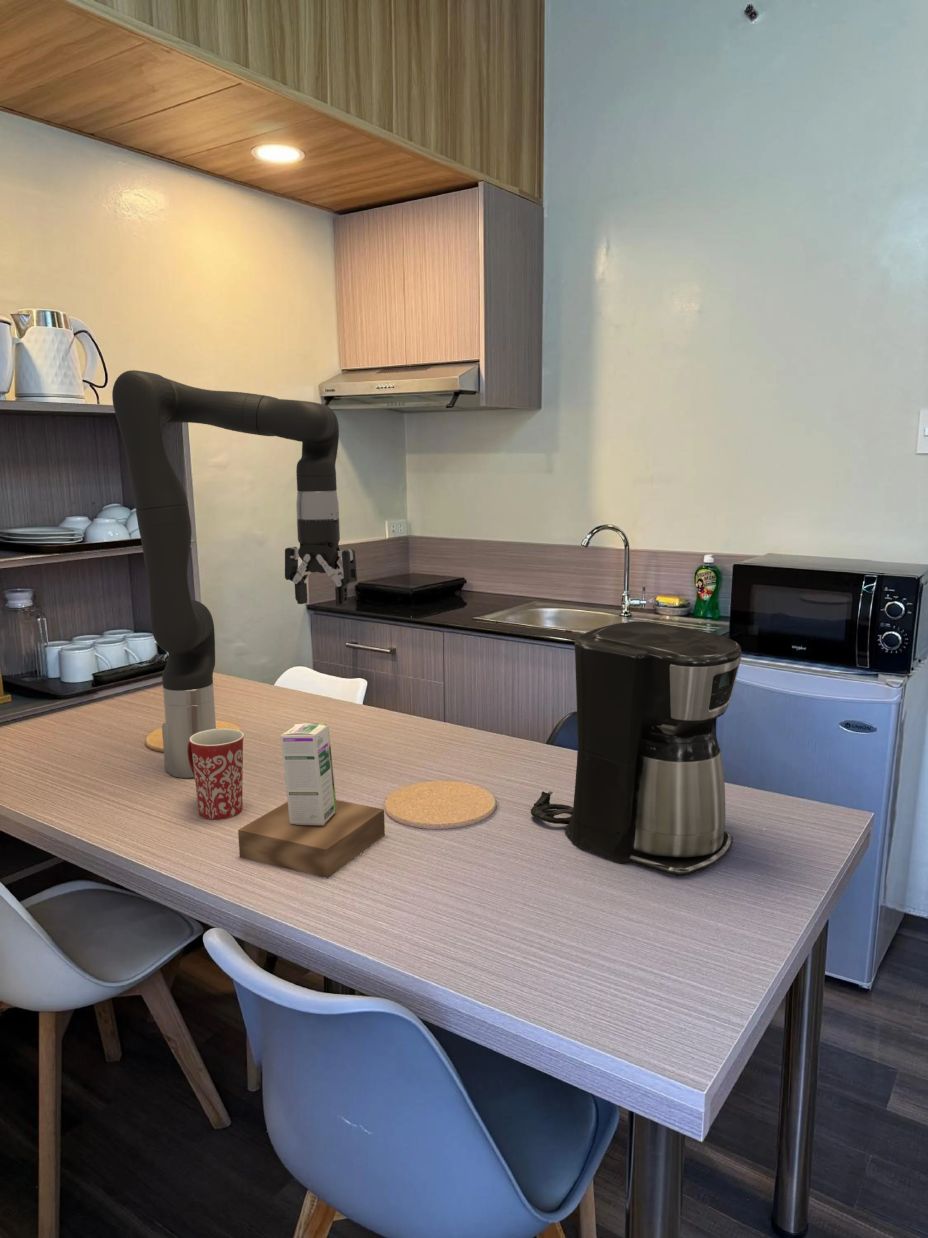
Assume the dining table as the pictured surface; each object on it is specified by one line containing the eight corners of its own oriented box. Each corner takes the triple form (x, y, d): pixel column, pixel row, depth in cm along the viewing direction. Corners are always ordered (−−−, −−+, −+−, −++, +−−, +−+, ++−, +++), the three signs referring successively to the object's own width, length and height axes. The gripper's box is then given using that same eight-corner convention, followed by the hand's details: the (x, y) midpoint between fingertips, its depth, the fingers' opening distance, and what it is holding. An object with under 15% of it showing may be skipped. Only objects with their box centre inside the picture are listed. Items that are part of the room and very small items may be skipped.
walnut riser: (239, 860, 131) (238, 829, 131) (303, 821, 146) (301, 793, 145) (327, 882, 125) (326, 849, 124) (384, 838, 139) (384, 809, 138)
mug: (259, 810, 149) (254, 735, 147) (212, 826, 143) (207, 748, 140) (218, 792, 157) (214, 720, 155) (173, 807, 151) (167, 732, 148)
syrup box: (324, 826, 131) (317, 733, 128) (287, 825, 132) (279, 733, 130) (337, 811, 136) (330, 722, 134) (302, 810, 138) (294, 722, 135)
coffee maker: (731, 887, 121) (743, 651, 115) (507, 858, 130) (506, 638, 124) (733, 823, 142) (742, 621, 136) (540, 802, 152) (541, 612, 146)
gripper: (273, 516, 156) (277, 605, 159) (339, 518, 150) (342, 610, 152) (298, 514, 162) (302, 599, 165) (362, 515, 156) (365, 604, 159)
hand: (321, 605), depth 159 cm, fingers open, 8 cm apart
